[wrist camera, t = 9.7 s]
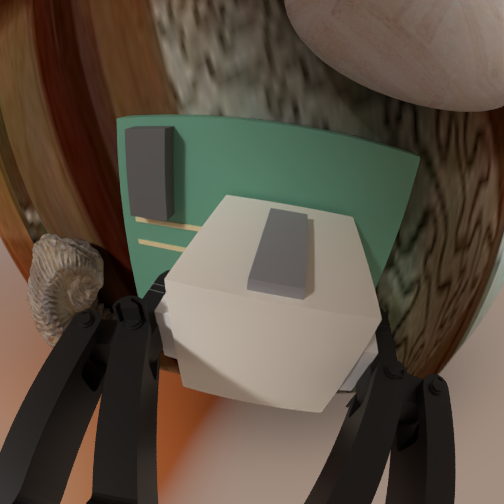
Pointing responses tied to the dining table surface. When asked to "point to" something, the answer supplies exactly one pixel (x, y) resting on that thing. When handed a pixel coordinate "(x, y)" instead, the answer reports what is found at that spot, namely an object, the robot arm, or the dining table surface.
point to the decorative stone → (411, 47)
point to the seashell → (64, 284)
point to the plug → (271, 304)
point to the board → (251, 181)
